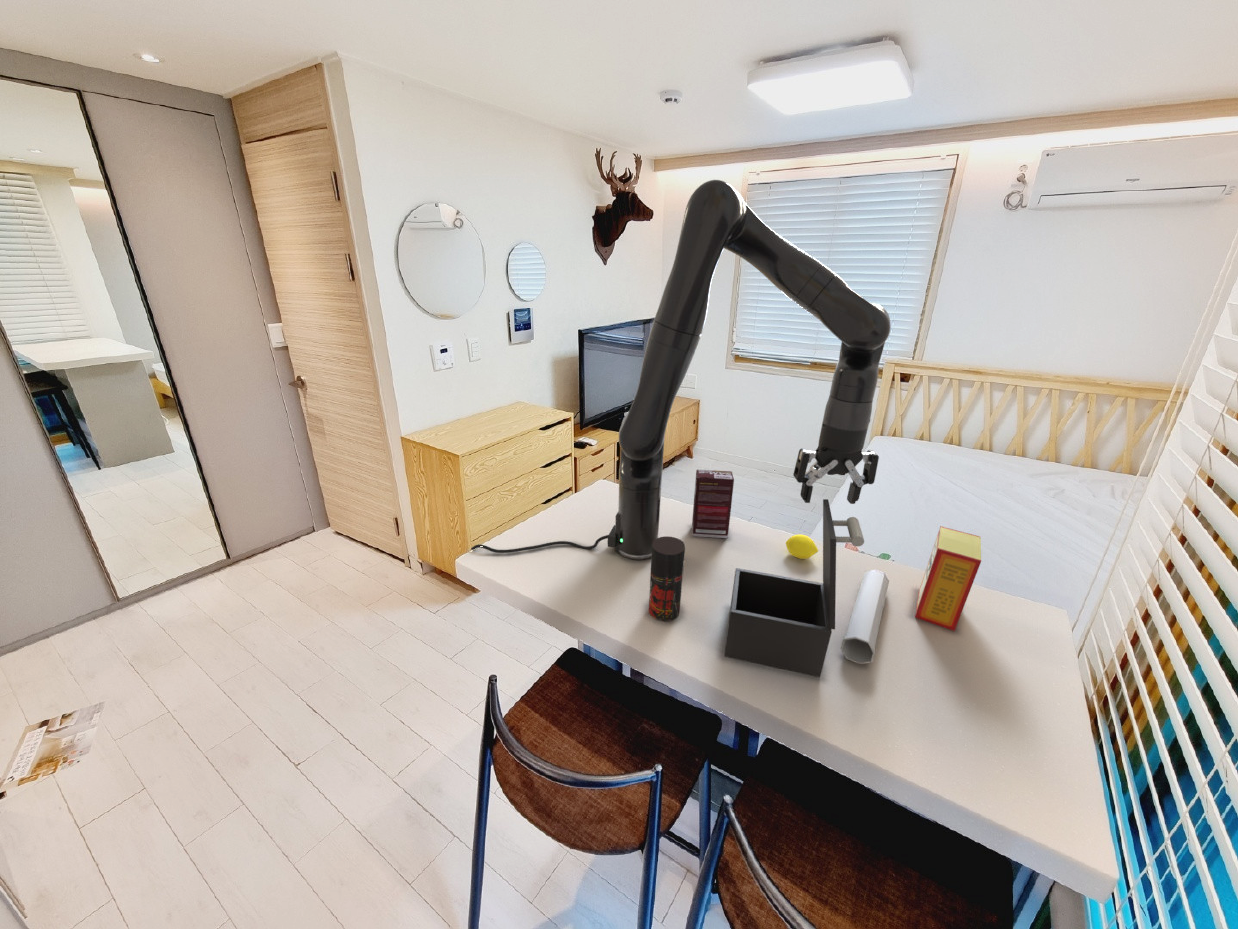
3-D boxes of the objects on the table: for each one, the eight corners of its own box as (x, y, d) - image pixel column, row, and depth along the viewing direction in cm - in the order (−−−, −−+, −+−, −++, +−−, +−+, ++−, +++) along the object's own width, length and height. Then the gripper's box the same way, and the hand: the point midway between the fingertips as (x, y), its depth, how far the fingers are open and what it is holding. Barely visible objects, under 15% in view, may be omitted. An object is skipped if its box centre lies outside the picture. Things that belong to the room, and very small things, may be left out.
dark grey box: (724, 656, 86) (730, 611, 82) (730, 609, 97) (735, 567, 93) (820, 677, 83) (831, 631, 79) (814, 626, 94) (824, 583, 90)
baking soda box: (918, 591, 104) (940, 524, 97) (955, 603, 100) (981, 534, 94) (914, 617, 96) (938, 547, 90) (954, 631, 93) (981, 559, 86)
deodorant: (643, 605, 98) (646, 540, 92) (670, 597, 100) (675, 533, 94) (657, 625, 93) (661, 557, 87) (685, 616, 95) (691, 550, 89)
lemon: (781, 558, 113) (785, 538, 111) (786, 546, 118) (790, 526, 115) (813, 567, 110) (818, 546, 108) (817, 555, 115) (822, 535, 112)
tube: (861, 563, 105) (838, 635, 86) (889, 565, 102) (872, 639, 83) (864, 586, 106) (842, 661, 87) (892, 588, 103) (876, 667, 84)
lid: (830, 538, 72) (868, 539, 71) (823, 499, 83) (855, 498, 82) (829, 629, 78) (864, 631, 77) (822, 581, 90) (853, 582, 88)
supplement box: (725, 528, 124) (733, 470, 118) (727, 539, 120) (735, 479, 113) (690, 526, 125) (695, 468, 119) (691, 536, 121) (696, 477, 114)
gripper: (876, 415, 93) (857, 493, 99) (799, 413, 93) (785, 491, 100) (895, 429, 86) (874, 512, 93) (812, 427, 86) (796, 510, 93)
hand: (828, 501), depth 96 cm, fingers open, 8 cm apart
